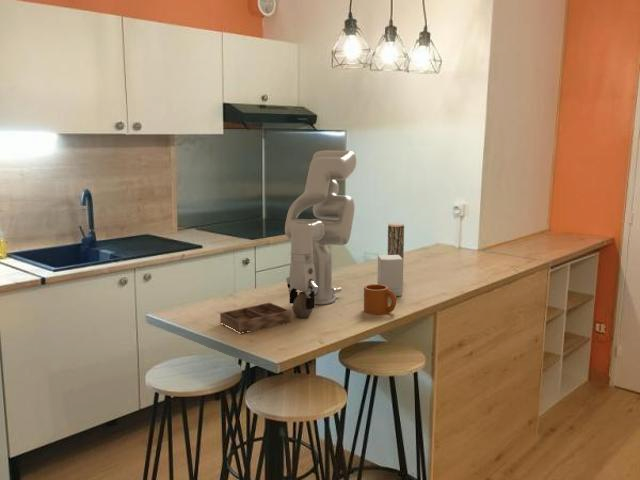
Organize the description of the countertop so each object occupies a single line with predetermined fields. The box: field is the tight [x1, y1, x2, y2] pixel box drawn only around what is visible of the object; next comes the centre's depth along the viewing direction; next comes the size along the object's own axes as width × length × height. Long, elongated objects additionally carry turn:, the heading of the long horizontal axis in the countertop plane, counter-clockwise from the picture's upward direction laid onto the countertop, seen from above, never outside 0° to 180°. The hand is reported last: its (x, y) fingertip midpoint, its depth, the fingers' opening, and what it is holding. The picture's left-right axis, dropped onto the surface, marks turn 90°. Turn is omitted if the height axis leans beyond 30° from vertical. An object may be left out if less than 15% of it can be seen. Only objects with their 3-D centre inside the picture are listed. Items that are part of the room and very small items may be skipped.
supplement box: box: [377, 254, 404, 297], centre depth 244 cm, size 9×9×15 cm
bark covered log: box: [387, 222, 405, 260], centre depth 261 cm, size 7×7×25 cm
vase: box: [292, 291, 313, 319], centre depth 215 cm, size 7×7×9 cm
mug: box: [363, 283, 397, 315], centre depth 220 cm, size 9×12×9 cm
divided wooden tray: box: [219, 302, 292, 333], centre depth 208 cm, size 20×13×4 cm, turn 128°
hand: (301, 305), depth 214 cm, fingers open, 9 cm apart
